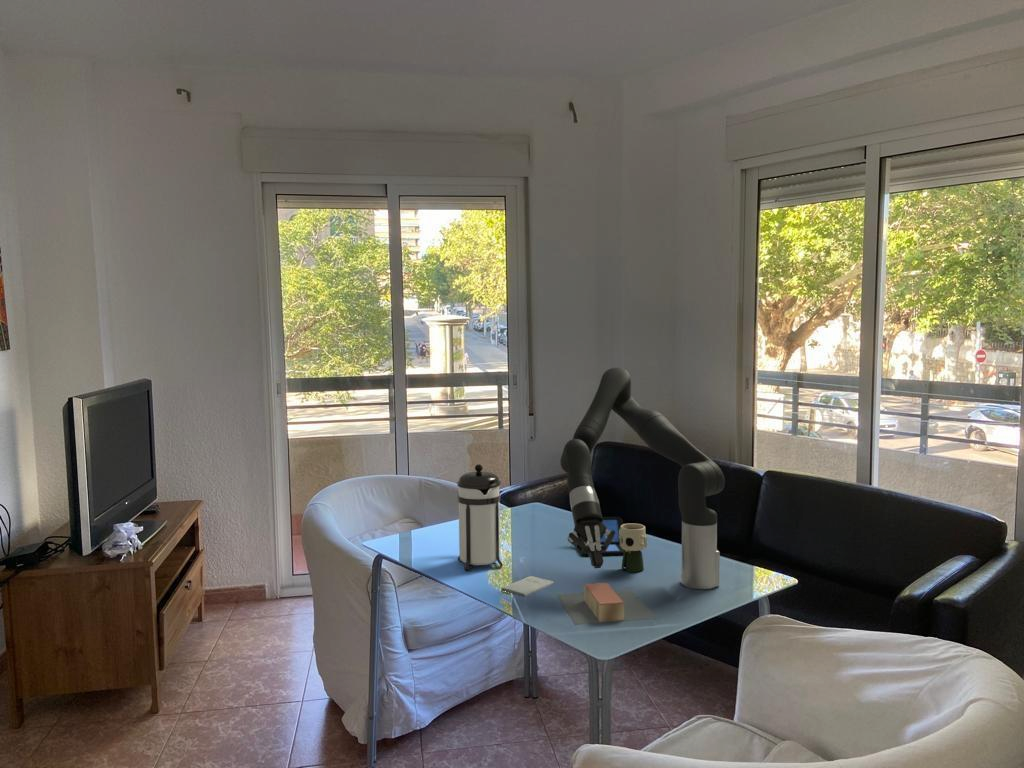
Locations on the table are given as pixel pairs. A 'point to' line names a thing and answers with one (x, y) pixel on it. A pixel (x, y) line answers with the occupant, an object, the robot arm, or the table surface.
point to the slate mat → (585, 616)
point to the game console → (614, 546)
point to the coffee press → (479, 518)
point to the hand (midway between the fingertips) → (598, 566)
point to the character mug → (632, 546)
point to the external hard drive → (527, 585)
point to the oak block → (604, 602)
